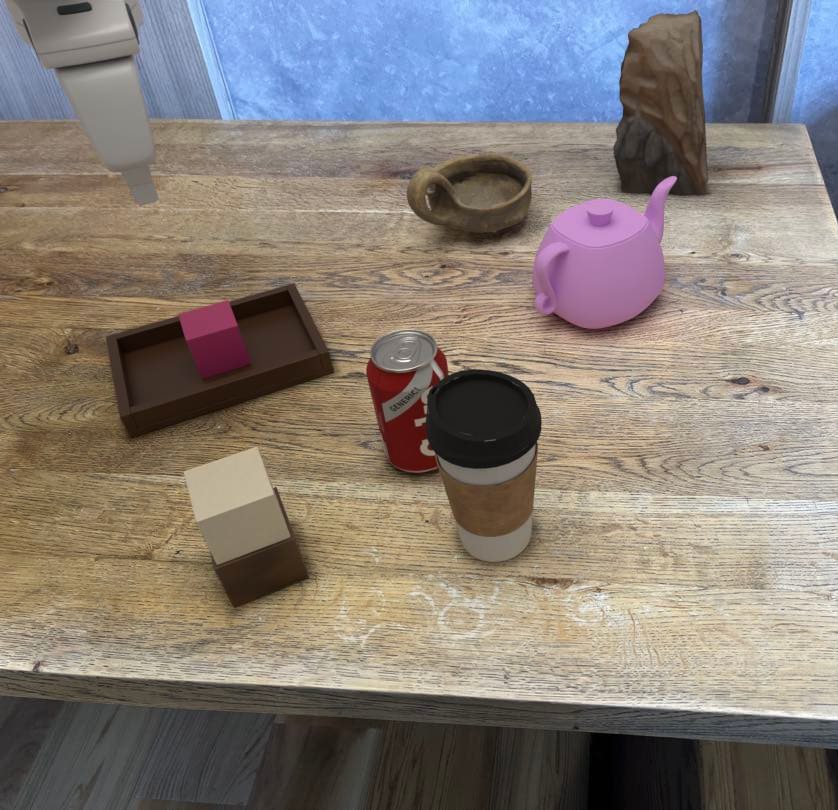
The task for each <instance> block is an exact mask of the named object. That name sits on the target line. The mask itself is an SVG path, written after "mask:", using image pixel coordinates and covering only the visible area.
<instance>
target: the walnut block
mask: <svg viewBox="0 0 838 810" xmlns="http://www.w3.org/2000/svg"><path fill="white" fill-rule="evenodd" d="M273 488H274V491H275V494H276V497H277V500H278V502H279V505H280V508H281V511H282V514H283V517H284V520H285V522H286V525H287V528H288V531H289V534H290V538H287V539H285V540H282V541H280V542H277V543H274V544H272V545H269V546H266V547H264V548H261V549H259V550H256V551H253V552H251V553H248V554H245V555H243V556H240V557H238V558H235V559H232V560H230V561H227V562H224V563H222V564H219V565H217V564H216V562H215V560H214V558H213V556H212V554H211V552H210V551H209V554H210V558H211V562H212V566H213V569H214V571H215V574H216V576H217V578H218V580H219V582H220V583H221V586H222V587H223V590H224V592H225V594H226V596H227V597H228V600H229V601H230V603H231V606H232V609H233V608H234V609H235V608H237V607H239V606H240V607H241V606H242V605H246V604H247V603H250V602H252V601H255V600H258V599H260V598H262V597H266V596H268V595H270V594H272V593H275V592H278V591H280V590H282V589H283V590H284V589H285V588H287V587H290V586H293V585H295V584H297V583H300V582H302V581H305V580H307V579H310V575H309V572H308V569H307V566H306V564H305V560H304V558H303V555H302V552H301V550H300V547H299V543H298V541H297V539H296V535H295V532H294V530H293V527H292V525H291V522H290V519H289V516H288V514H287V511H286V509H285V506H284V503H283V501H282V498H281V494H280V492H279V490H278V489H279V488H278V487H277V486H274V487H273Z"/></svg>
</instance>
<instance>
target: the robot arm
mask: <svg viewBox="0 0 838 810" xmlns="http://www.w3.org/2000/svg"><path fill="white" fill-rule="evenodd" d="M3 1H4V4H5V6H6V9H7V11H8V13H9V16H10V18H11V20H12V23H13V25H14V28H15V29H16V32H17V34H18V36H19V38H20V40H21V41H22V42H23V43H25V44H28V46H30V47H31V48H32V49H33V50H34V51H35V54H36V55H37V59H38V60H39V61H40V64H41V66H42V67H43V69H46V70H49V69H50V70H52V69H53V71H54V75H55V76H56V79H57V81H58V83H59V84H60V86H61V89H62V90H63V93H64V94H65V97H66V98H67V100H68V102H69V104H70V106H71V108H72V110H73V112H74V114H75V116H76V117H77V120H78V121H79V123H80V125H81V127H82V129H83V131H84V133H85V135H86V137H87V138H88V141H89V142H90V144H91V146H92V148H93V150H94V152H95V153H96V155H97V156H98V158H99V160H100V161H101V163H102V164H103V166H104V167H105V168H106V170H108V171H109V172H110V173H121V175H122V177H123V178H124V180H125V183H126V184H127V186H128V188H129V190H130V193H131V195H132V197H133V200H134V202H135V203H136V204H137V205H139V206H146V205H149V204H154V203H157V202H158V200H159V194H158V192H157V188H156V186H155V183H154V180H153V176H152V173H151V169H150V166H151V165H154V164H156V162H157V149H156V143H155V138H154V134H153V129H152V125H151V121H150V116H149V112H148V107H147V103H146V99H145V95H144V91H143V87H142V81H141V78H140V72H139V68H138V62H137V54H139V53H140V52H141V48H140V40H139V34H140V32H141V31H140V30H141V26H143V24H144V23H145V16H144V15H145V14H144V12H143V9H142V6H141V3H140V0H3Z"/></svg>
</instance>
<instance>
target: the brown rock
mask: <svg viewBox="0 0 838 810" xmlns="http://www.w3.org/2000/svg"><path fill="white" fill-rule="evenodd" d="M702 22H703V21H702V17H701V16H700V15H699V11H698V10H696V9H695V10H692V11H690V12H689V13H677V14H674V13H668V12H667V13H662V12H660V13H657V14H654V15H651V16H650V17H648V20H647V21H646V22H642V23H640V24H639V26H638V27H633V28H632V29H631V30H629V31H628V33H627V40H628V44H627V46H626V50H625V51H624V55H623V60H622V62H621V65H620V76H619V82H618V87H619V91H618V92H619V93H618V95H619V102H620V103H621V106H622V117H621V119H620V121H619V122H618V125H617V127H616V128H615V134H616V140H615V142H614V145H613V148H612V149H613V158H614V159H615V166H616V170H617V174H618V176H619V179H620V183H621V188H620V190H621V192H624V193H626V194H627V193H628V194H644V193H645V194H647V193H648V194H650V195H652V193H653V192H654V190H655V188H656V187H657V186H658V184H659V183H661V182H662V181H663V180H665V179H666V178H668V177H671V176H676V177H677V180H676V182H675V184H674V185H673V186H672V188H671V189H670V191H669V193H668V195H669V194H671V195H674V196H675V195H676V196H689V195H697V196H698V195H703V196H704V195H707V189H706V186H707V183H708V181H709V169H708V157H707V156H708V152H707V129H706V109H705V98H704V89H703V65H704V63H703V61H704V60H703V54H704V44H703V25H702Z"/></svg>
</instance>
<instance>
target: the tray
mask: <svg viewBox="0 0 838 810" xmlns="http://www.w3.org/2000/svg"><path fill="white" fill-rule="evenodd" d="M298 289H299V288H298V287H297V285H296V283H294V282H293V283H290V284H286V285H282V286H279V287H275V288H272V289H268V290H264V291H261V292H257V293H254V294H250V295H247V296H244V297H240V298H236V299H233V300H228V301H229V304H230V306H231V309H232V312H233V314H234V317H235V319H236V322H237V325H238V327H239V330H240V333H241V336H242V339H243V342H244V344H245V347H246V350H247V353H248V356H249V359H250V361H251V364H250V365H247V366H243V367H240V368H237V369H234V370H230V371H227V372H224V373H221V374H217V375H214V376H211V377H208V378H204V379H202V378H201V376H200V373H199V371H198V369H197V366H196V364H195V361H194V359H193V357H192V354H191V352H190V349H189V347H188V344H187V342H186V339H185V336H184V332H183V329H182V326H181V322H180V319H179V315H176V316H173V317H170V318H166V319H162V320H159V321H158V320H157V321H155V322H152V323H148V324H144V325H140V326H138V327H134V328H131V329H127V330H123V331H120V332H116V333H113V334H109V335H106V336H105V340H106V341H105V342H106V347H107V353H108V359H109V363H110V369H111V375H112V376H111V377H112V380H113V387H114V393H115V400H116V404H117V410H118V417H119V418H120V421H121V423H122V424H123V426H124V429H125V430H126V432H127V434H128V436H129V437H130V438H131V439H132V438H135V437H138V436H141V435H145V434H147V433H151V432H154V431H157V430H160V429H163V428H166V427H169V426H172V425H176V424H179V423H181V422H184V421H188V420H191V419H195V418H197V417H200V416H204V415H206V414H210V413H212V412H215V411H218V410H222V409H224V408H225V409H226V408H228V407H231V406H234V405H238V404H241V403H243V402H246V401H251V400H253V399H256V398H259V397H262V396H266V395H269V394H271V393H274V392H278V391H281V390H284V389H287V388H290V387H293V386H297V385H300V384H302V383H306V382H309V381H312V380H314V379H318V378H321V377H324V376H327V375H330V374H333V373H335V369H334V366H333V361H332V357H331V354H330V351H329V349H328V347H327V345H326V343H325V341H324V339H323V336H322V335H321V333H320V331H319V329H318V327H317V325H316V323H315V321H314V319H313V317H312V315H311V313H310V311H309V309H308V308H307V305H306V303H305V301H304V299H303V297H302V295H301V293H300V291H299V290H298Z"/></svg>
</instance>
